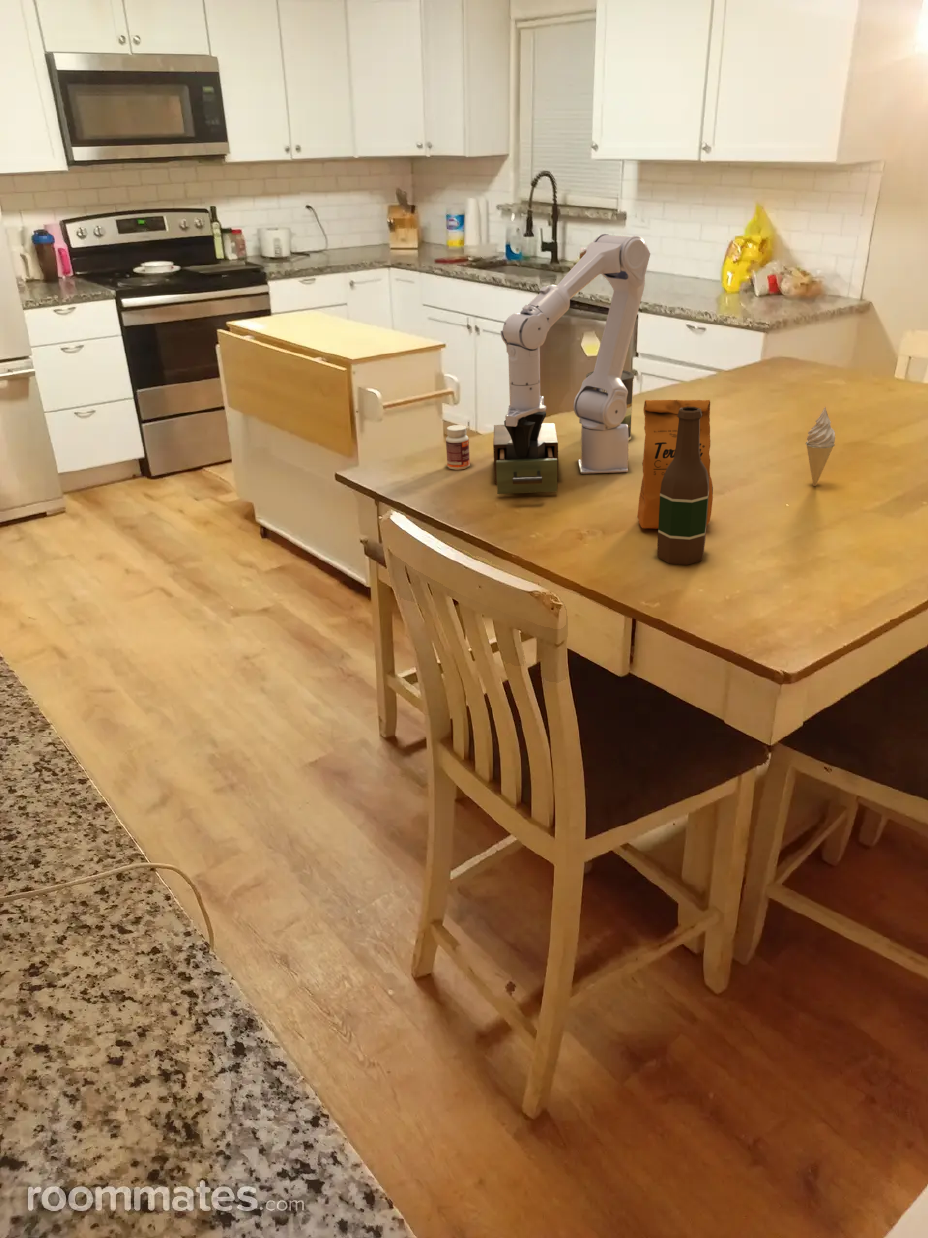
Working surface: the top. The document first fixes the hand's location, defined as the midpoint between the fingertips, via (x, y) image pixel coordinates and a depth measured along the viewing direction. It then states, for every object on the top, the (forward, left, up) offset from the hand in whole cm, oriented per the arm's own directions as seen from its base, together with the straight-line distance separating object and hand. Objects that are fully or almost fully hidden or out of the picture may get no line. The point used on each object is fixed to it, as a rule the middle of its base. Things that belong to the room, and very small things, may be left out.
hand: (526, 453), depth 175 cm
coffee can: (-19, -31, -8) cm, 37 cm away
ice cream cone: (-54, +4, -8) cm, 55 cm away
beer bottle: (-24, +34, -8) cm, 42 cm away
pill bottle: (+14, -15, -8) cm, 22 cm away
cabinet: (0, -10, -7) cm, 13 cm away
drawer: (0, +1, -6) cm, 6 cm away
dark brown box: (0, 0, -1) cm, 1 cm away
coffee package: (-25, +21, -8) cm, 33 cm away
